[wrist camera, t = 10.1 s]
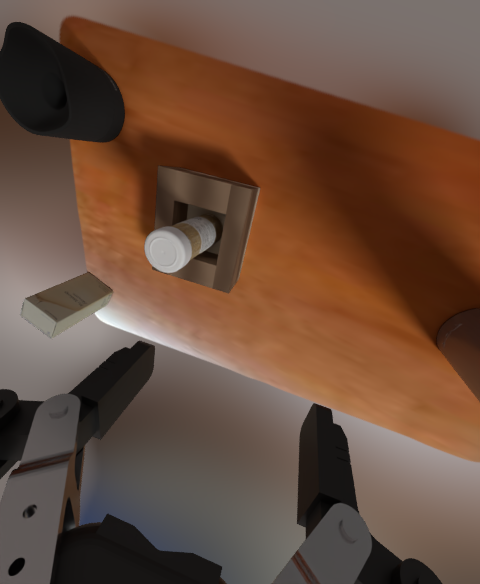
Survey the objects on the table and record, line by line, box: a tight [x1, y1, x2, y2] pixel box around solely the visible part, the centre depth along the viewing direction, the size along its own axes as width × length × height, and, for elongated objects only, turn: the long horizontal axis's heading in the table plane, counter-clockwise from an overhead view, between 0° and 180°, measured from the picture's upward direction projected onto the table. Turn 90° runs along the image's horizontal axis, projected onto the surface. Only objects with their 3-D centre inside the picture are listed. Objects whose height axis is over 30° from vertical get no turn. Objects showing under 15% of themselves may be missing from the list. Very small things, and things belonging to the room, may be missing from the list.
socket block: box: [152, 166, 260, 293], centre depth 35 cm, size 12×14×6 cm
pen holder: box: [0, 22, 125, 142], centre depth 30 cm, size 9×9×10 cm
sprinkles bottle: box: [144, 214, 223, 273], centre depth 31 cm, size 5×5×14 cm
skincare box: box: [20, 272, 113, 339], centre depth 43 cm, size 6×4×12 cm
